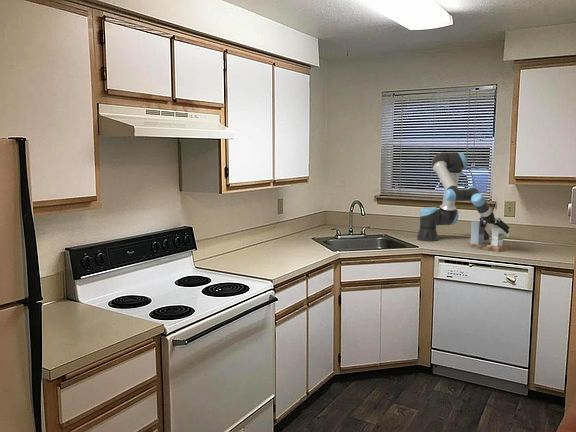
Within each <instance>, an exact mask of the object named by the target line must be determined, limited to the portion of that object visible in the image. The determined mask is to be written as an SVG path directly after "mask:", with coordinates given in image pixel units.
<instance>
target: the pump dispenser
mask: <svg viewBox="0 0 576 432" xmlns="http://www.w3.org/2000/svg"><path fill="white" fill-rule="evenodd" d="M490 240H491V234H488V233H487V231H486V230H485V234H484V243H485V244H489V242H490Z"/></svg>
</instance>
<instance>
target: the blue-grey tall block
mask: <svg viewBox="0 0 576 432" xmlns="http://www.w3.org/2000/svg"><path fill="white" fill-rule="evenodd" d="M485 222H486V221H483V224H485ZM484 234H485V229H484V228H483V227H480V220H474V221H471V225H470V243H471V244H477V245H479V244H484Z"/></svg>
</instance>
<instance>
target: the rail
mask: <svg viewBox="0 0 576 432" xmlns="http://www.w3.org/2000/svg"><path fill="white" fill-rule="evenodd" d="M467 247H469V248H475V249H480V250H484V251H485V250H486V251H491V252H497V253H500V252H507V251H508V245H505V244H503V246H500V247H497V246H491V245H490V243H486V244H485V243H484V244H479V245H477V244H471V242H469V243H467Z"/></svg>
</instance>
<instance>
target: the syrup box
mask: <svg viewBox="0 0 576 432" xmlns="http://www.w3.org/2000/svg"><path fill="white" fill-rule="evenodd" d="M490 230H491V233H490V239H489V242H490V243H489V244H490V245H491V246H497V247H500V246H503V245H504V237H505V233H504V231H503V229H501V228H500V227H498V226H496V225H494V224H491V228H490Z"/></svg>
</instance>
